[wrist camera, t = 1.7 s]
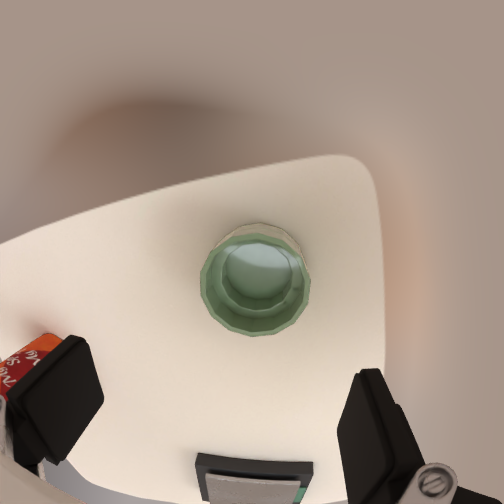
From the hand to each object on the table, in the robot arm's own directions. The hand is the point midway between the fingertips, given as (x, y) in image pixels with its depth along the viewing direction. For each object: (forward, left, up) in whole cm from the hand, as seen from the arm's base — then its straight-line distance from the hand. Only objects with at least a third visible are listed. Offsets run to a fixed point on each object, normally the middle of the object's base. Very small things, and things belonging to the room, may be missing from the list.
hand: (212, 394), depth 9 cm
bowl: (-1, 0, -13) cm, 13 cm away
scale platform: (-2, +30, -11) cm, 32 cm away
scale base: (-2, +30, -13) cm, 33 cm away
